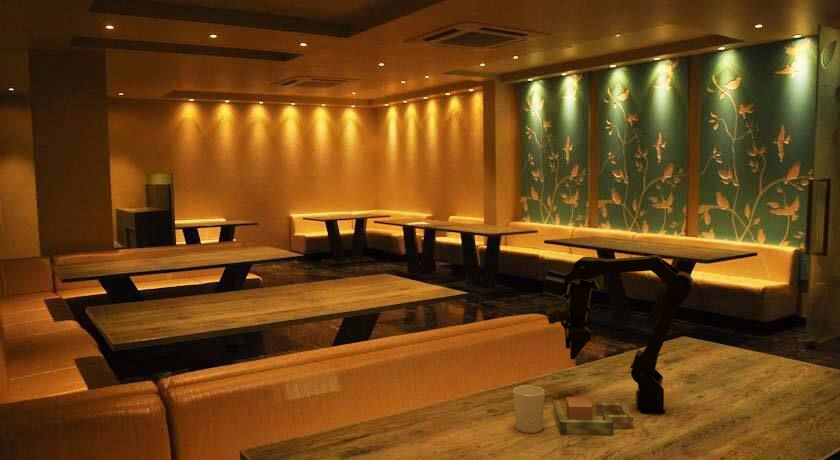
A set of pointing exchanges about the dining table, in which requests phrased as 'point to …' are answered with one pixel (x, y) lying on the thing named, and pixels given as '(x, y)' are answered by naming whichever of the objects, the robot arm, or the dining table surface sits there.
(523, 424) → the white cup
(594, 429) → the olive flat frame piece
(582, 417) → the block
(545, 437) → the dining table surface
